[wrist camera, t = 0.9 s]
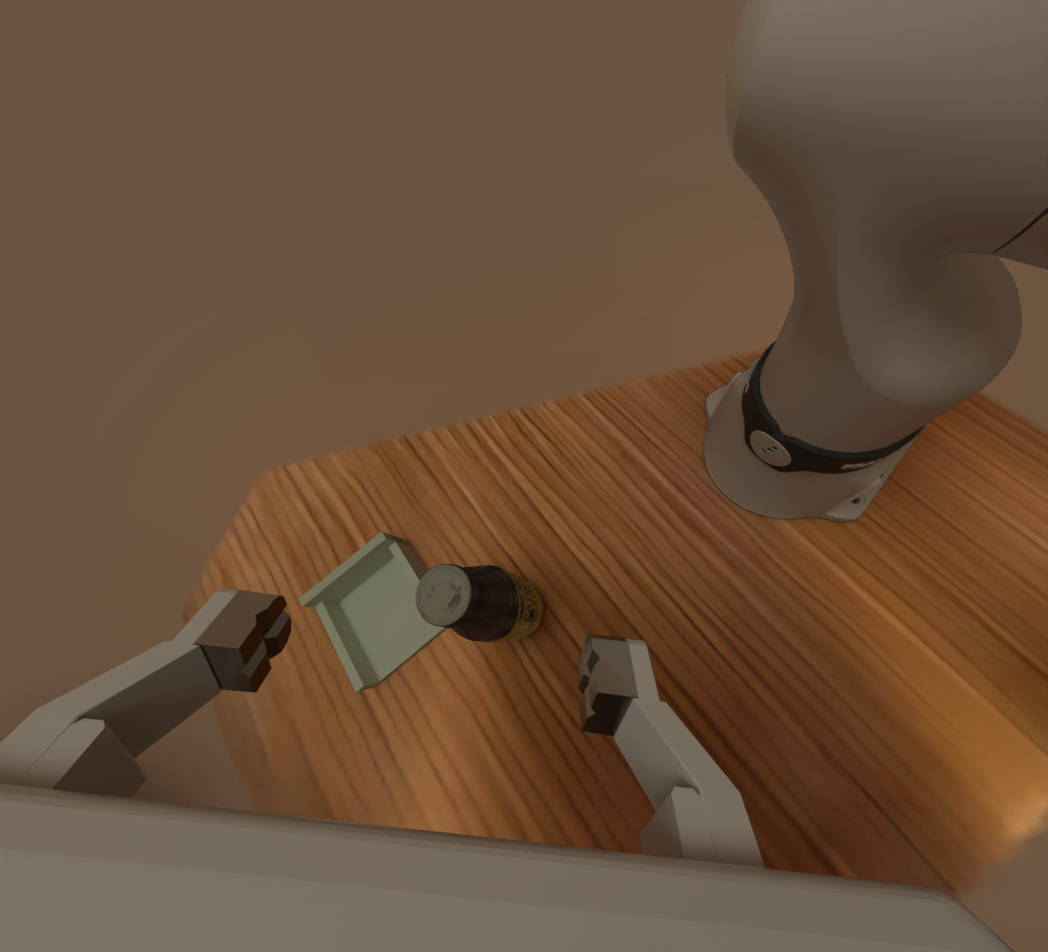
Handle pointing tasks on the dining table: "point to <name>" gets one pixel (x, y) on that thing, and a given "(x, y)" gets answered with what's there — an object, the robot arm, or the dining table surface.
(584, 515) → the dining table surface
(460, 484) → the dining table surface
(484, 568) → the sauce bottle
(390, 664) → the caddy
